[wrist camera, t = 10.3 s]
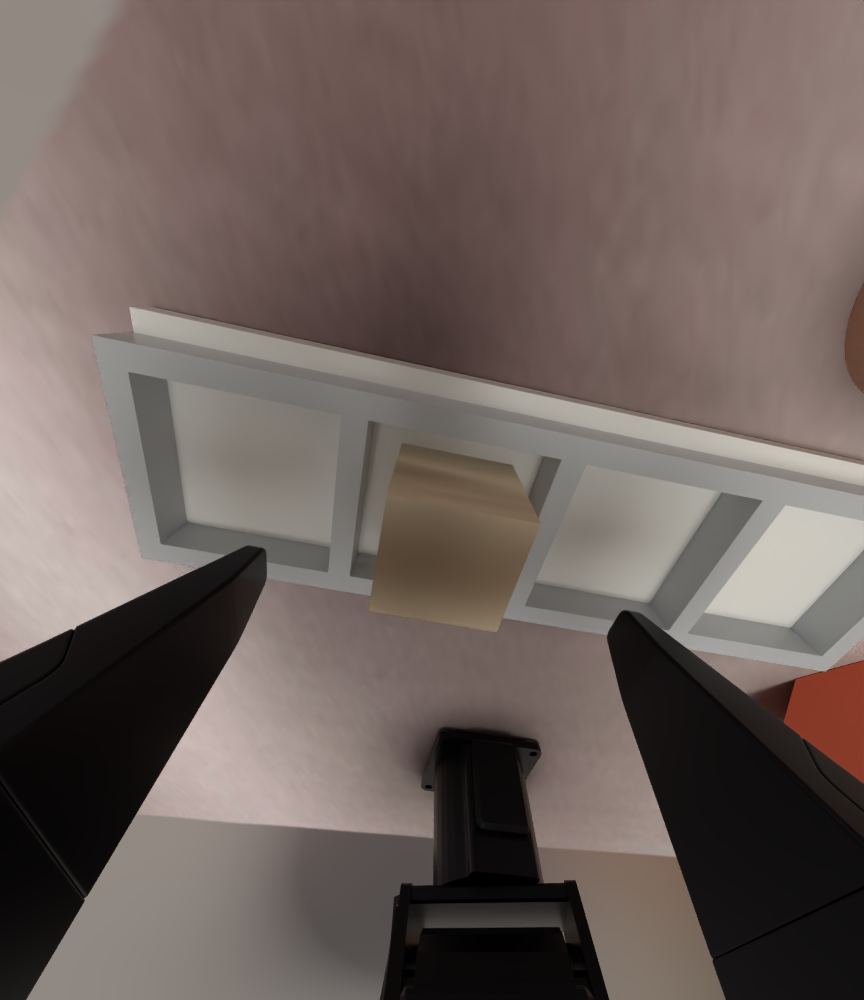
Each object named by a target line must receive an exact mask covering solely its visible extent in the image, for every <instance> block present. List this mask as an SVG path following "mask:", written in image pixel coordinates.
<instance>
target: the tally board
mask: <svg viewBox="0 0 864 1000" xmlns="http://www.w3.org/2000/svg"><path fill="white" fill-rule="evenodd" d="M129 308H130V313H131V319H132V325H133V331H134V332H129V333H113V334H97V335H91V336H92V340H93V345H94V349H95V354H96V358H97V363H98V367H99V371H100V376H101V380H102V385H103V389H104V394H105V398H106V403H107V407H108V411H109V416H110V420H111V425H112V429H113V434H114V438H115V443H116V447H117V451H118V456H119V460H120V465H121V469H122V474H123V478H124V483H125V487H126V491H127V496H128V500H129V505H130V509H131V514H132V518H133V523H134V527H135V531H136V536H137V540H138V545H139V549H140V554H141V558H145V559H151V560H157V561H163V562H169V563H175V564H181V565H187V566H193V567H199V568H200V567H202V566H204V565H206V564H208V563H211V562H213V561H215V560H217V559H219V558H221V557H223V556H225V555H227V554H229V553H231V552H234V551H236V550H238V549H240V548H242V547H244V546H247V545H252V546H257V547H263V548H264V549H265V550H266V553H267V578H266V579H271V580H277V581H283V582H289V583H295V584H301V585H307V586H313V587H319V588H325V589H331V590H337V591H343V592H349V593H355V594H361V595H367V596H371V590H372V584H373V577H374V571H375V565H376V559H377V552H378V546H379V540H380V534H381V527H382V521H383V515H384V509H385V502H386V496H387V492H388V489H389V485H390V482H391V479H392V475H393V472H394V469H395V465H396V462H397V458H398V455H399V452H400V448H401V445H402V443H405V444H410V445H415V446H420V447H425V448H430V449H435V450H440V451H445V452H450V453H455V454H460V455H465V456H470V457H475V458H480V459H485V460H490V461H495V462H500V463H505V464H510V465H513V466H514V469H515V471H516V473H517V475H518V477H519V479H520V481H521V483H522V485H523V487H524V490H525V492H526V494H527V496H528V498H529V500H530V502H531V504H532V506H533V508H534V511H535V513H536V515H537V517H538V519H539V521H540V523H541V525H540V527H539V530H538V532H537V535H536V537H535V540H534V542H533V545H532V547H531V550H530V552H529V554H528V557H527V559H526V562H525V564H524V567H523V569H522V572H521V574H520V577H519V579H518V582H517V584H516V586H515V589H514V591H513V594H512V596H511V599H510V601H509V604H508V606H507V609H506V611H505V614H504V616H503V618H506V619H512V620H518V621H524V622H530V623H536V624H542V625H548V626H554V627H560V628H566V629H572V630H578V631H584V632H590V633H596V634H602V635H607V634H608V631H609V629H610V627H611V626H612V624H613V623H614V621H615V619H616V618H617V616H618V614H619V613H620V612H621V611H623V610H630V611H636V612H639V613H641V614H643V615H644V616H645V617H647V618H648V619H649V620H651V621H652V622H653V623H655V624H656V625H657V626H658V627H660V628H661V629H662V630H664V631H665V632H666V633H668V634H669V635H670V636H671V637H673V638H674V639H675V640H677V641H678V642H679V643H681V644H682V645H683V646H684V647H686V648H687V649H692V650H698V651H704V652H710V653H716V654H722V655H728V656H734V657H740V658H746V659H752V660H758V661H764V662H770V663H776V664H782V665H788V666H794V667H800V668H806V669H812V670H818V671H824V672H826V671H827V670H828V669H829V668H830V667H831V666H833V665H834V664H835V663H836V662H837V661H838V660H839V659H840V658H841V657H842V656H844V655H845V654H846V653H847V652H848V651H849V650H850V649H851V648H852V647H853V646H855V645H856V644H857V643H858V642H859V641H860V640H861V639H862V638H863V637H864V461H861V460H856V459H851V458H847V457H842V456H838V455H833V454H828V453H824V452H819V451H815V450H810V449H805V448H801V447H796V446H791V445H787V444H782V443H778V442H773V441H768V440H764V439H759V438H755V437H750V436H745V435H741V434H736V433H731V432H727V431H722V430H718V429H713V428H708V427H704V426H699V425H695V424H690V423H685V422H681V421H676V420H671V419H667V418H662V417H658V416H653V415H648V414H644V413H639V412H635V411H630V410H625V409H621V408H616V407H612V406H607V405H602V404H598V403H593V402H588V401H584V400H579V399H575V398H570V397H565V396H561V395H556V394H552V393H547V392H542V391H538V390H533V389H528V388H524V387H519V386H515V385H510V384H505V383H501V382H496V381H492V380H487V379H482V378H478V377H473V376H468V375H464V374H459V373H455V372H450V371H445V370H441V369H436V368H432V367H427V366H422V365H418V364H413V363H409V362H404V361H399V360H395V359H390V358H385V357H381V356H376V355H372V354H367V353H362V352H358V351H353V350H349V349H344V348H339V347H335V346H330V345H325V344H321V343H316V342H312V341H307V340H302V339H298V338H293V337H289V336H284V335H279V334H275V333H270V332H265V331H261V330H256V329H252V328H247V327H242V326H238V325H233V324H229V323H224V322H219V321H215V320H210V319H206V318H201V317H196V316H192V315H187V314H182V313H178V312H173V311H169V310H164V309H159V308H155V307H129Z"/></svg>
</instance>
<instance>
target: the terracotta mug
mask: <svg viewBox="0 0 864 1000" xmlns="http://www.w3.org/2000/svg"><path fill="white" fill-rule="evenodd" d="M845 359H846V363H847V368H848V371H849V373H850V376H851V378H852V380H853V382H854V383H855V384H856V386H857V387H858V388H859V389H860V390H861V391H862V392H863V393H864V284H863V286H862V288H861V290H860V292H859V294H858V297H857V299H856V301H855V304H854V307H853V309H852V312H851V315H850V318H849V323H848V327H847V331H846V339H845Z"/></svg>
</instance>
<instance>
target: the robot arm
mask: <svg viewBox="0 0 864 1000" xmlns="http://www.w3.org/2000/svg"><path fill="white" fill-rule="evenodd" d="M266 578H267V553H266V550H265V549H264V548H263V547H257V546H252V545H247V546H244V547H242V548H240V549H238V550H236V551H234V552H231V553H229V554H227V555H225V556H223V557H221V558H219V559H217V560H215V561H213V562H211V563H208V564H206V565H204V566H202V567H200V568H198V569H196V570H194V571H192V572H190V573H187V574H185V575H183V576H181V577H179V578H177V579H175V580H173V581H171V582H169V583H167V584H164V585H162V586H160V587H158V588H156V589H154V590H152V591H150V592H148V593H146V594H144V595H141V596H139V597H137V598H135V599H133V600H131V601H129V602H127V603H125V604H123V605H120V606H118V607H116V608H114V609H112V610H110V611H108V612H106V613H104V614H102V615H100V616H97V617H95V618H93V619H91V620H89V621H87V622H85V623H83V624H81V625H79V626H77V627H76V628H75V630H73V629H70V630H68V631H66V632H64V633H62V634H59V635H57V636H55V637H53V638H51V639H49V640H47V641H45V642H43V643H40V644H38V645H36V646H34V647H32V648H30V649H27V650H25V651H23V652H21V653H19V654H17V655H14V656H12V657H10V658H8V659H6V660H4V661H1V662H0V1000H26V999H27V997H28V996H29V994H30V992H31V991H32V989H33V987H34V986H35V984H36V982H37V981H38V979H39V977H40V976H41V974H42V972H43V970H44V969H45V967H46V965H47V964H48V962H49V960H50V959H51V957H52V955H53V954H54V952H55V950H56V949H57V947H58V945H59V944H60V942H61V940H62V939H63V937H64V935H65V933H66V932H67V930H68V928H69V927H70V925H71V923H72V922H73V920H74V918H75V916H76V915H77V913H78V912H79V910H80V908H81V907H82V905H83V903H84V901H85V899H84V898H85V897H87V896H88V894H89V893H90V891H91V889H92V887H93V886H94V884H95V882H96V881H97V879H98V877H99V876H100V874H101V872H102V870H103V869H104V867H105V865H106V864H107V862H108V861H109V859H110V857H111V856H112V854H113V852H114V851H115V849H116V847H117V845H118V843H119V842H120V840H121V839H122V837H123V835H124V834H125V832H126V830H127V829H128V827H129V825H130V824H131V822H132V820H133V819H134V817H135V815H136V814H137V812H138V810H139V809H140V807H141V805H142V804H143V802H144V800H145V798H146V797H147V795H148V793H149V792H150V790H151V788H152V787H153V785H154V783H155V782H156V780H157V778H158V777H159V775H160V773H161V772H162V770H163V768H164V767H165V765H166V763H167V762H168V760H169V758H170V756H171V755H172V753H173V751H174V750H175V748H176V746H177V745H178V743H179V741H180V740H181V738H182V736H183V735H184V733H185V731H186V730H187V728H188V726H189V725H190V723H191V721H192V720H193V718H194V716H195V714H196V713H197V711H198V709H199V708H200V706H201V704H202V703H203V701H204V699H205V698H206V696H207V694H208V693H209V691H210V689H211V688H212V686H213V684H214V683H215V681H216V679H217V677H218V676H219V674H220V672H221V671H222V669H223V667H224V666H225V664H226V662H227V661H228V659H229V657H230V656H231V654H232V652H233V651H234V649H235V647H236V645H237V643H238V642H239V640H240V637H241V635H242V633H243V631H244V629H245V627H246V625H247V622H248V620H249V618H250V616H251V614H252V611H253V609H254V607H255V605H256V603H257V600H258V598H259V596H260V594H261V592H262V589H263V587H264V585H265V582H266ZM607 641H608V645H609V650H610V654H611V658H612V662H613V666H614V670H615V674H616V678H617V682H618V686H619V690H620V694H621V698H622V701H623V704H624V707H625V710H626V713H627V716H628V719H629V722H630V725H631V728H632V731H633V733H634V736H635V739H636V742H637V745H638V748H639V751H640V753H641V756H642V759H643V762H644V765H645V768H646V771H647V774H648V776H649V779H650V782H651V785H652V788H653V791H654V794H655V797H656V799H657V802H658V805H659V808H660V811H661V814H662V817H663V820H664V822H665V825H666V828H667V831H668V834H669V837H670V840H671V843H672V845H673V848H674V851H675V854H676V857H677V860H678V863H679V866H680V868H681V871H682V874H683V877H684V880H685V883H686V886H687V888H688V891H689V894H690V897H691V900H692V903H693V906H694V909H695V912H696V914H697V917H698V920H699V923H700V926H701V929H702V931H703V935H704V937H705V940H706V943H707V946H708V949H709V952H710V955H711V957H712V958H713V964H714V967H715V970H716V973H717V976H718V979H719V981H720V984H721V987H722V990H723V993H724V995H725V999H726V1000H864V783H862V782H861V781H860V780H858V779H857V778H856V777H854V776H853V775H852V774H850V773H849V772H848V771H846V770H845V769H844V768H842V767H841V766H840V765H838V764H837V763H836V762H834V761H833V760H832V759H831V758H829V757H828V756H827V755H825V754H824V753H823V752H821V751H820V750H819V749H817V748H816V747H815V746H814V745H812V744H811V743H810V742H808V741H807V740H806V739H804V738H801V736H800V735H799V734H798V733H796V732H795V731H794V730H793V729H791V728H790V727H789V726H787V725H786V724H785V723H783V722H782V721H781V720H780V719H778V718H777V717H776V716H774V715H773V714H772V713H770V712H769V711H768V710H767V709H765V708H764V707H763V706H761V705H760V704H759V703H757V702H756V701H755V700H753V699H752V698H751V697H750V696H748V695H747V694H746V693H744V692H743V691H742V690H740V689H739V688H738V687H737V686H735V685H734V684H733V683H731V682H730V681H729V680H727V679H726V678H725V677H724V676H722V675H721V674H720V673H718V672H717V671H716V670H714V669H713V668H712V667H711V666H709V665H708V664H707V663H705V662H704V661H703V660H701V659H700V658H699V657H697V656H696V655H695V654H694V653H692V652H691V651H690V650H688V649H687V648H686V647H684V646H683V645H682V644H681V643H679V642H678V641H677V640H675V639H674V638H673V637H671V636H670V635H669V634H668V633H666V632H665V631H664V630H662V629H661V628H660V627H658V626H657V625H656V624H655V623H653V622H652V621H651V620H649V619H648V618H647V617H645V616H644V615H643V614H641V613H639V612H636V611H630V610H623V611H621V612H620V613H619V614H618V616H617V618H616V619H615V621H614V623H613V624H612V626H611V627H610V629H609V631H608V634H607ZM540 756H541V749H540V746H539V744H537V743H533V742H526V741H519V740H512V739H505V738H498V737H491V736H483V735H476V734H469V733H462V732H455V731H447V730H444V731H441V732H439V734H438V736H437V739H436V741H435V744H434V747H433V749H432V752H431V755H430V758H429V760H428V763H427V766H426V769H425V771H424V774H423V777H422V783H421V788H422V789H424V790H427V791H434V846H433V853H434V854H433V885H426V886H413V885H412V883H402V884H401V889H400V895H398V896H395V897H394V907H393V919H392V931H391V941H390V948H389V954H388V961H387V965H386V970H385V976H384V981H383V986H382V992H381V996H380V1000H609V997H608V994H607V990H606V987H605V983H604V980H603V976H602V972H601V969H600V966H599V962H598V958H597V955H596V952H595V948H594V944H593V941H592V937H591V933H590V930H589V926H588V923H587V919H586V916H585V912H584V909H583V905H582V902H581V898H580V895H579V891H578V888H577V884H576V881H575V880H565V881H564V883H544V882H543V876H542V871H541V865H540V860H539V855H538V848H537V843H536V837H535V832H534V826H533V821H532V815H531V810H530V804H529V799H528V793H527V788H526V782H525V780H526V778H527V777H528V775H529V773H530V772H531V770H532V769H533V767H534V766H535V764H536V762H537V761H538V759H539V758H540ZM562 932H564V937H565V940H564V937H563V934H562ZM565 942H566V943H565Z"/></svg>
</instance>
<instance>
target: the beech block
mask: <svg viewBox="0 0 864 1000" xmlns="http://www.w3.org/2000/svg"><path fill="white" fill-rule="evenodd" d="M540 525H541V523H540V521H539V519H538V517H537V515H536V513H535V511H534V508H533V506H532V504H531V502H530V500H529V498H528V496H527V494H526V492H525V490H524V487H523V485H522V483H521V481H520V479H519V477H518V475H517V473H516V471H515V469H514V466H513V465H510V464H505V463H500V462H495V461H490V460H485V459H480V458H475V457H470V456H465V455H460V454H455V453H450V452H445V451H440V450H435V449H430V448H425V447H420V446H415V445H410V444H405V443H402V445H401V448H400V452H399V455H398V458H397V462H396V465H395V469H394V472H393V475H392V479H391V482H390V485H389V489H388V492H387V496H386V502H385V509H384V515H383V521H382V527H381V534H380V540H379V546H378V552H377V559H376V565H375V571H374V577H373V584H372V590H371V596H370V602H369V609H368V611H370V612H376V613H382V614H388V615H394V616H400V617H407V618H413V619H419V620H425V621H431V622H437V623H443V624H450V625H456V626H462V627H468V628H474V629H480V630H486V631H492V632H497V631H498V628H499V626H500V623H501V621H502V618H503V616H504V614H505V611H506V609H507V606H508V604H509V601H510V599H511V596H512V594H513V591H514V589H515V586H516V584H517V582H518V579H519V577H520V574H521V572H522V569H523V567H524V564H525V562H526V559H527V557H528V554H529V552H530V550H531V547H532V545H533V542H534V540H535V537H536V535H537V532H538V530H539V527H540Z"/></svg>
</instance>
